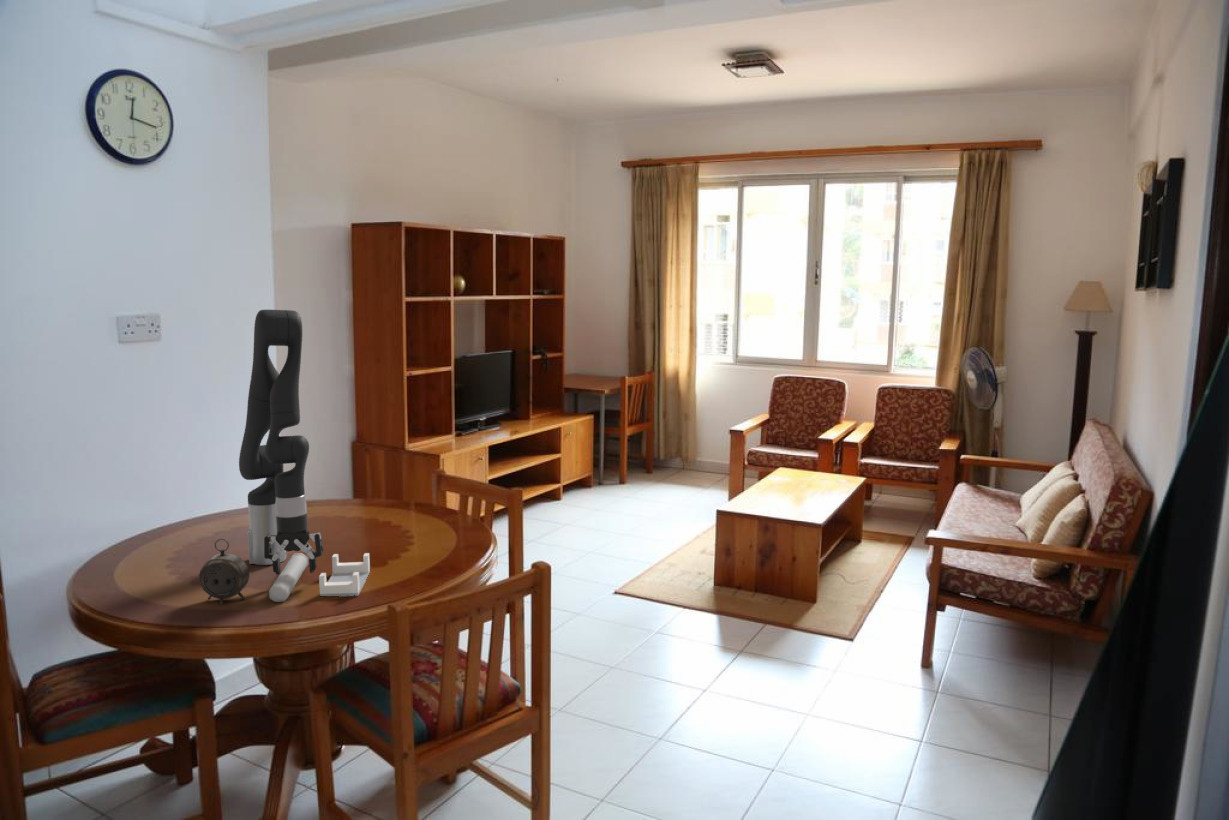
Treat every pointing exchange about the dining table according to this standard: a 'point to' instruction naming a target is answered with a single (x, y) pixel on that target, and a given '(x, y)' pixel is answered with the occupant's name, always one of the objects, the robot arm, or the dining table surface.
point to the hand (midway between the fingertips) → (295, 572)
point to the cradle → (345, 577)
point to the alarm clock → (224, 575)
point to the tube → (288, 577)
